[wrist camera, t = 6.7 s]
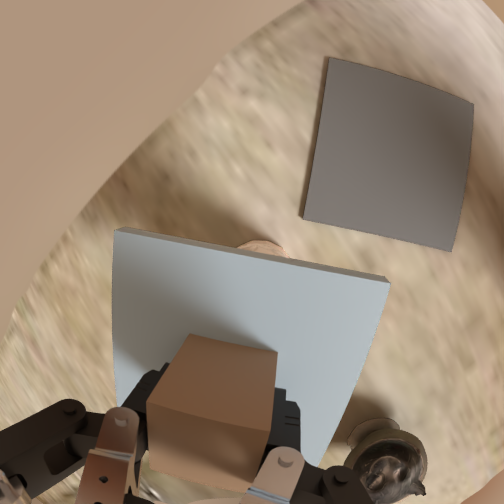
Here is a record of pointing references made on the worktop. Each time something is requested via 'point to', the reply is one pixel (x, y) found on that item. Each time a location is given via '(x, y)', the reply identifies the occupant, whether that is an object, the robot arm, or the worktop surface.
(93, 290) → the worktop surface
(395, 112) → the mat
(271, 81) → the worktop surface
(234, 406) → the lid
